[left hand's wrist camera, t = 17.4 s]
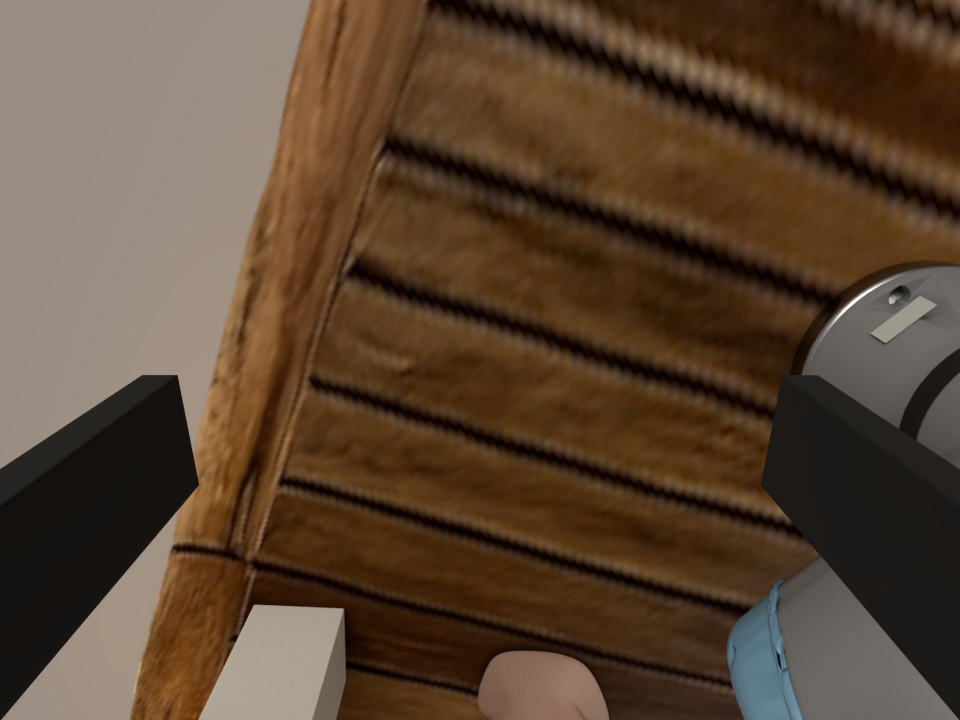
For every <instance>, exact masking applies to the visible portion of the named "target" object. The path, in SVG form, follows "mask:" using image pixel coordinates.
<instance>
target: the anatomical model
mask: <svg viewBox="0 0 960 720" xmlns="http://www.w3.org/2000/svg"><path fill="white" fill-rule="evenodd" d="M478 706H479V708H480V710H481V712H482V713H483V714H484V715H485V716H486V717H487V718H488V719H490V720H609V714H608V710H607V707H606V703H605V700H604V698H603V695H602V693H601V690H600V688H599V686H598V684H597V682H596V680H595V678H594V676H593V675H592V673H591V672H590V671H589V669H588V668H587V667H586V666H585V665H584V664H583V663H581V662H580V661H578V660H576V659H574V658H572V657H569V656H566V655H561V654H557V653H550V652H541V651H510V652H505V653H501V654H499V655H497V656H496V657H494V658H493V659H492V660H491V662H490V663H489V665H488V667H487V669H486V671H485V674H484V676H483V679H482V681H481V684H480V688H479V695H478Z"/></svg>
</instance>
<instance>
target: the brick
mask: <svg viewBox="0 0 960 720" xmlns="http://www.w3.org/2000/svg"><path fill="white" fill-rule="evenodd" d="M345 681H346V663H345V625H344V609H340V608H318V607H295V606H272V605H254V606H253V608H252V610H251V612H250V615H249V617H248V619H247V621H246V623H245V625H244V627H243V629H242V631H241V633H240V635H239V637H238V639H237V641H236V643H235V645H234V648H233V650H232V652H231V654H230V656H229V658H228V660H227V662H226V664H225V666H224V668H223V670H222V672H221V674H220V676H219V679H218V681H217V683H216V685H215V687H214V689H213V691H212V693H211V695H210V697H209V699H208V701H207V703H206V705H205V707H204V710H203V712H202V714H201V716H200V718H199V720H336V718H337V714H338V710H339V706H340V702H341V698H342V694H343V689H344V685H345Z"/></svg>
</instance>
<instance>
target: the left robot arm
mask: <svg viewBox="0 0 960 720" xmlns="http://www.w3.org/2000/svg"><path fill="white" fill-rule="evenodd" d="M198 486H199V482H198V477H197V472H196V467H195V462H194V456H193V451H192V446H191V441H190V436H189V431H188V426H187V421H186V416H185V411H184V406H183V401H182V395H181V391H180V385H179V380H178V376H177V375H142V376H140V377H139V378H137V379H136V380H134V381H133V382H131V383H130V384H128V385H127V386H125V387H124V388H122V389H121V390H119V391H118V392H116V393H115V394H113V395H112V396H110V397H109V398H107V399H105V400H104V401H102V402H101V403H100V404H98V405H96V406H95V407H93V408H92V409H90V410H89V411H87V412H86V413H84V414H83V415H81V416H80V417H78V418H77V419H75V420H74V421H72V422H71V423H69V424H68V425H66V426H65V427H63V428H62V429H60V430H59V431H57V432H56V433H54V434H53V435H51V436H50V437H48V438H47V439H45V440H44V441H42V442H41V443H39V444H38V445H36V446H34V447H33V448H32V449H30V450H28V451H27V452H25V453H24V454H22V455H21V456H19V457H18V458H16V459H15V460H13V461H12V462H10V463H9V464H7V465H6V466H4V467H3V468H1V469H0V720H1V719H2V718H3V717H4V716H5V715H6V713H7V712H8V711H9V710H10V709H11V707H12V706H13V705H14V704H15V703H16V702H17V700H18V699H19V698H20V697H21V696H22V694H23V693H24V692H25V691H26V690H27V688H28V687H29V686H30V685H31V684H32V683H33V681H34V680H35V679H36V678H37V677H38V675H39V674H40V673H41V672H42V671H43V670H44V668H45V667H46V666H47V665H48V664H49V662H50V661H51V660H52V659H53V658H54V656H55V655H56V654H57V653H58V652H59V650H60V649H61V648H62V647H63V646H64V645H65V643H66V642H67V641H68V640H69V639H70V637H71V636H72V635H73V634H74V633H75V632H76V630H77V629H78V628H79V627H80V626H81V624H82V623H83V622H84V621H85V620H86V618H87V617H88V616H89V615H90V614H91V613H92V611H93V610H94V609H95V608H96V607H97V605H98V604H99V603H100V602H101V601H102V600H103V598H104V597H105V596H106V595H107V594H108V592H109V591H110V590H111V589H112V588H113V586H114V585H115V584H116V583H117V582H118V581H119V579H120V578H121V577H122V576H123V575H124V573H125V572H126V571H127V570H128V569H129V567H130V566H131V565H132V564H133V563H134V562H135V560H136V559H137V558H138V557H139V556H140V554H141V553H142V552H143V551H144V550H145V549H146V547H147V546H148V545H149V544H150V543H151V541H152V540H153V539H154V538H155V537H156V535H157V534H158V533H159V532H160V531H161V530H162V528H163V527H164V526H165V525H166V524H167V522H168V521H169V520H170V519H171V518H172V516H173V515H174V514H175V513H176V512H177V511H178V509H179V508H180V507H181V506H182V505H183V503H184V502H185V501H186V500H187V499H188V497H189V496H190V495H191V494H192V493H193V492H194V490H195V489H196V488H197V487H198ZM761 486H762V487H763V488H764V489H765V490H766V492H767V493H768V494H769V495H770V496H771V497H772V499H773V500H774V501H775V502H776V503H777V505H778V506H779V507H780V508H781V509H782V511H783V512H784V513H785V514H786V515H787V516H788V518H789V519H790V520H791V521H792V522H793V524H794V525H795V526H796V527H797V528H798V530H799V531H800V532H801V533H802V534H803V535H804V537H805V538H806V539H807V540H808V541H809V543H810V544H811V545H812V546H813V547H814V549H815V550H816V551H817V552H818V553H819V554H820V556H818V557H817V558H816V559H814V560H813V561H812V562H810V563H809V564H808V565H806V566H805V567H804V568H802V569H801V570H799V571H798V572H797V573H795V574H794V575H793V576H791V577H790V578H789V579H787V580H782V579H781V580H779V581H778V582H776V583H775V584H774V585H773V586H772V588H771V590H770V593H769V594H768V595H767V596H766V597H765V598H763V599H762V600H761V601H760V602H759V603H758V604H756V605H755V606H754V607H753V608H752V609H750V610H749V611H748V612H747V613H746V614H744V615H743V616H742V617H741V618H740V619H739V620H738V621H737V622H736V623H735V624H734V626H733V628H732V630H731V632H730V634H729V638H728V642H727V661H728V666H729V670H730V679H731V683H732V686H733V690H734V693H735V696H736V699H737V702H738V705H739V707H740V710H741V713H742V715H743V718H744V720H960V265H957V264H953V263H948V262H941V261H914V262H908V263H902V264H898V265H894V266H891V267H888V268H885V269H882V270H880V271H877V272H875V273H873V274H870V275H868V276H866V277H865V278H863V279H861V280H859V281H857V282H856V283H854V284H853V285H851V286H850V287H848V288H847V289H845V290H844V291H843V292H841V293H840V294H839V295H838V296H837V297H835V298H834V299H833V300H832V301H831V302H830V303H829V304H828V305H827V306H826V307H825V308H824V309H823V310H822V311H821V312H820V314H819V315H818V316H817V317H816V318H815V320H814V321H813V323H812V324H811V325H810V327H809V328H808V330H807V332H806V333H805V335H804V337H803V339H802V341H801V343H800V345H799V347H798V349H797V352H796V355H795V358H794V361H793V365H792V370H791V375H782V380H781V385H780V390H779V395H778V401H777V406H776V411H775V416H774V421H773V426H772V431H771V436H770V441H769V446H768V451H767V456H766V462H765V467H764V472H763V477H762V482H761Z"/></svg>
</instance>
